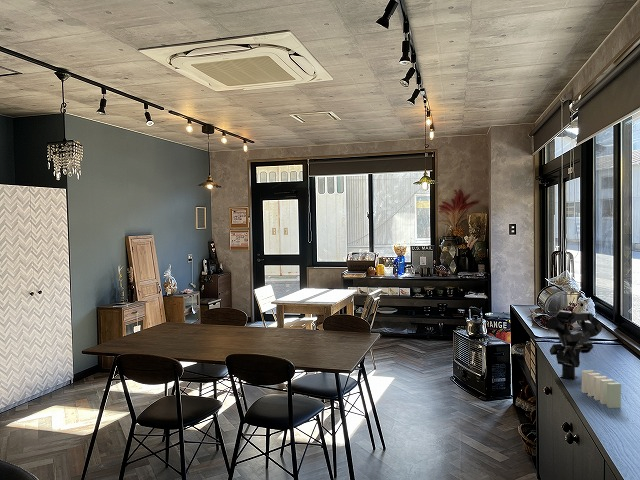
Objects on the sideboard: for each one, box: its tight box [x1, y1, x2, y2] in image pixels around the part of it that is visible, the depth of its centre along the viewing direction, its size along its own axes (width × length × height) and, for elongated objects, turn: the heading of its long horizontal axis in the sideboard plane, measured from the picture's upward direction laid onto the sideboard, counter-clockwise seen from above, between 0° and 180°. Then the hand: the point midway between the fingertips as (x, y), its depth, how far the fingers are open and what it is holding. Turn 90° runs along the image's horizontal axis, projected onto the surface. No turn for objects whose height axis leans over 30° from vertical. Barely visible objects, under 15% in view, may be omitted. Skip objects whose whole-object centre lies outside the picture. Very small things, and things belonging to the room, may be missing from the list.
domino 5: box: [606, 382, 622, 409], centre depth 206 cm, size 2×5×10 cm, turn 95°
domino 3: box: [593, 375, 608, 401], centre depth 215 cm, size 2×5×10 cm, turn 95°
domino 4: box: [599, 378, 615, 405], centre depth 210 cm, size 2×5×10 cm, turn 95°
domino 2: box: [587, 372, 602, 398], centre depth 219 cm, size 2×5×10 cm, turn 95°
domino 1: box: [581, 369, 595, 393], centre depth 223 cm, size 2×5×10 cm, turn 95°
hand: (578, 364), depth 229 cm, fingers closed
